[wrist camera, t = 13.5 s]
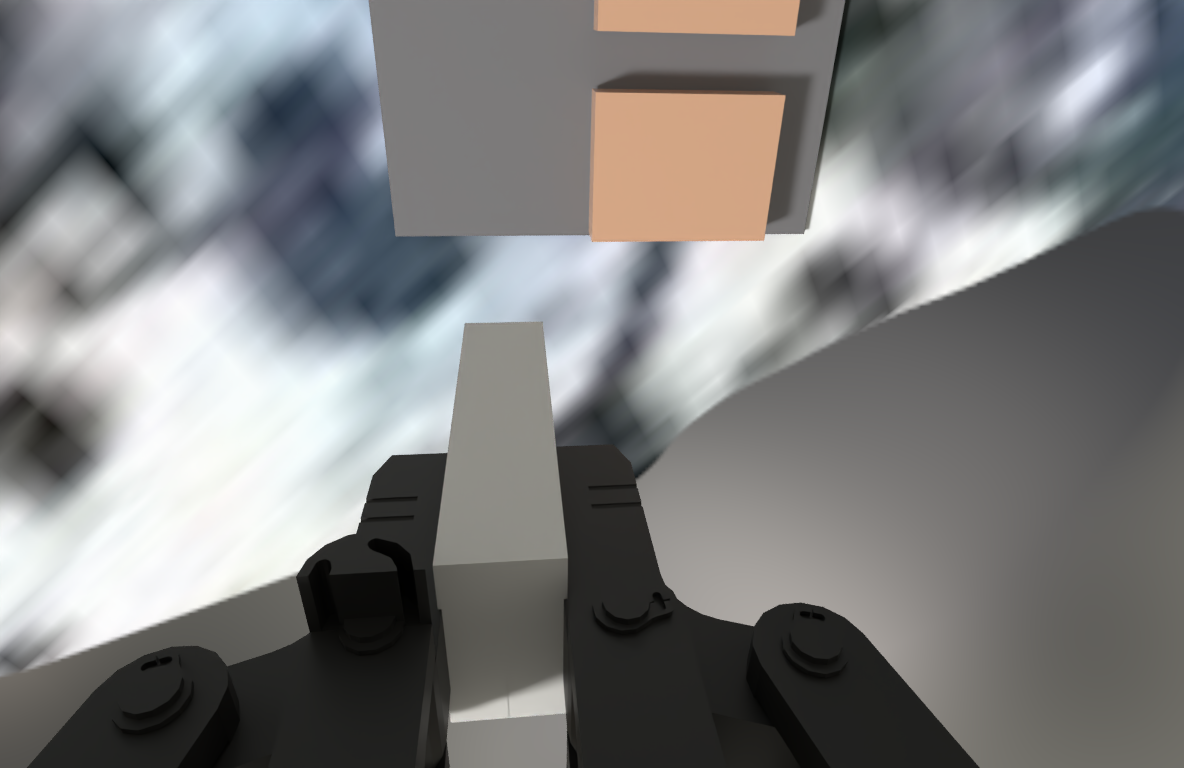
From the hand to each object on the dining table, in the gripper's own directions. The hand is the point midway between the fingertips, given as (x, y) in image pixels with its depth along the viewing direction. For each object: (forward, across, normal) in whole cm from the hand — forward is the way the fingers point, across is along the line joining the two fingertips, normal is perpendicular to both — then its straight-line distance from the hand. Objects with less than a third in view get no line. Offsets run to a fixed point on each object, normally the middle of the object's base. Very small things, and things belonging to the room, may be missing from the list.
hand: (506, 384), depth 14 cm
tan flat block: (+23, +4, 0) cm, 23 cm away
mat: (+24, +5, +4) cm, 25 cm away
